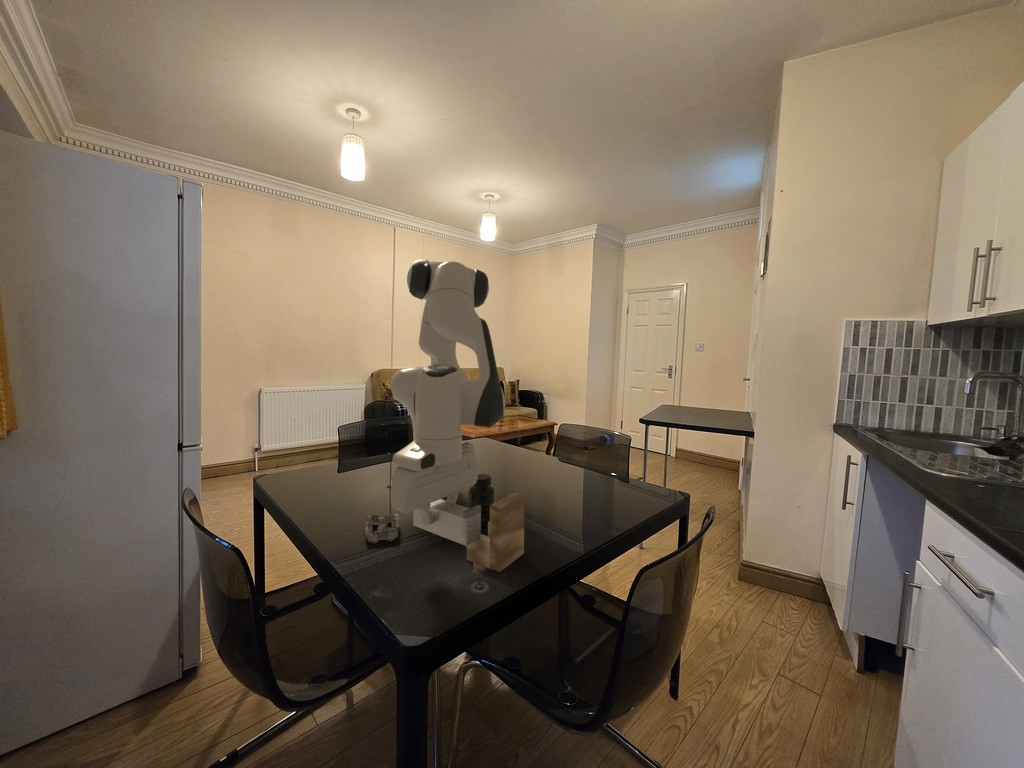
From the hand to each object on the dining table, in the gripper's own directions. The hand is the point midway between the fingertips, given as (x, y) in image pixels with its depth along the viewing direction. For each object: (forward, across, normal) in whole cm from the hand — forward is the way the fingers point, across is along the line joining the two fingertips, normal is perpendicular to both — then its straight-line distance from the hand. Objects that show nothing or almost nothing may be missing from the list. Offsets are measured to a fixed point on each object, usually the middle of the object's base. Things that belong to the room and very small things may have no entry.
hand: (438, 519), depth 78 cm
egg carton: (+12, -4, -23) cm, 26 cm away
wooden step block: (+11, -11, +6) cm, 16 cm away
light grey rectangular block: (+2, 0, +2) cm, 3 cm away
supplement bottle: (+11, -23, -7) cm, 27 cm away
